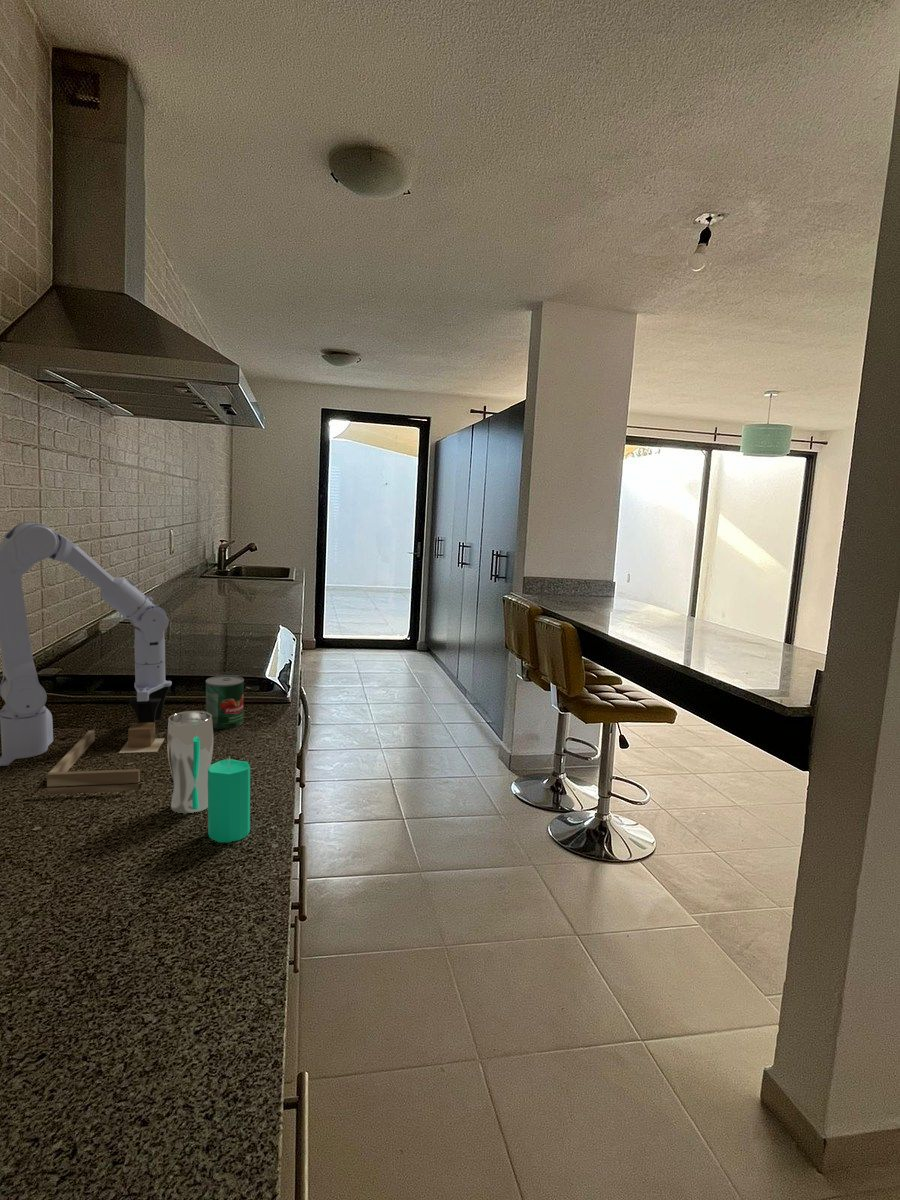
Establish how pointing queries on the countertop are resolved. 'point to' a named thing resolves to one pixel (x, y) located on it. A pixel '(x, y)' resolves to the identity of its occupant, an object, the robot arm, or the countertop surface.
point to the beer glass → (190, 759)
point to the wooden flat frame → (64, 778)
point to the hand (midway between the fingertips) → (151, 725)
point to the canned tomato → (225, 701)
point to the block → (141, 734)
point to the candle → (228, 800)
